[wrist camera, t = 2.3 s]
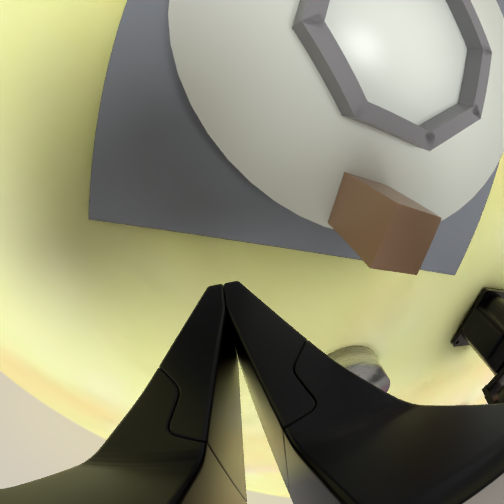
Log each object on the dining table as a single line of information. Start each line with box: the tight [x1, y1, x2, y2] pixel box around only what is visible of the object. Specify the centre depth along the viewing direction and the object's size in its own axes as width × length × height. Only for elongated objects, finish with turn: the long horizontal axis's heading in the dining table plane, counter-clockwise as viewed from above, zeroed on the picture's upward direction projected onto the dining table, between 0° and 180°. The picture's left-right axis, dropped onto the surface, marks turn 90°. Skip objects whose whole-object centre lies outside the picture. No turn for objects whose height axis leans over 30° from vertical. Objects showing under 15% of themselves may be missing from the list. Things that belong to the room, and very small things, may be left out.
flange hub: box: [327, 346, 390, 392], centre depth 20 cm, size 6×6×4 cm
